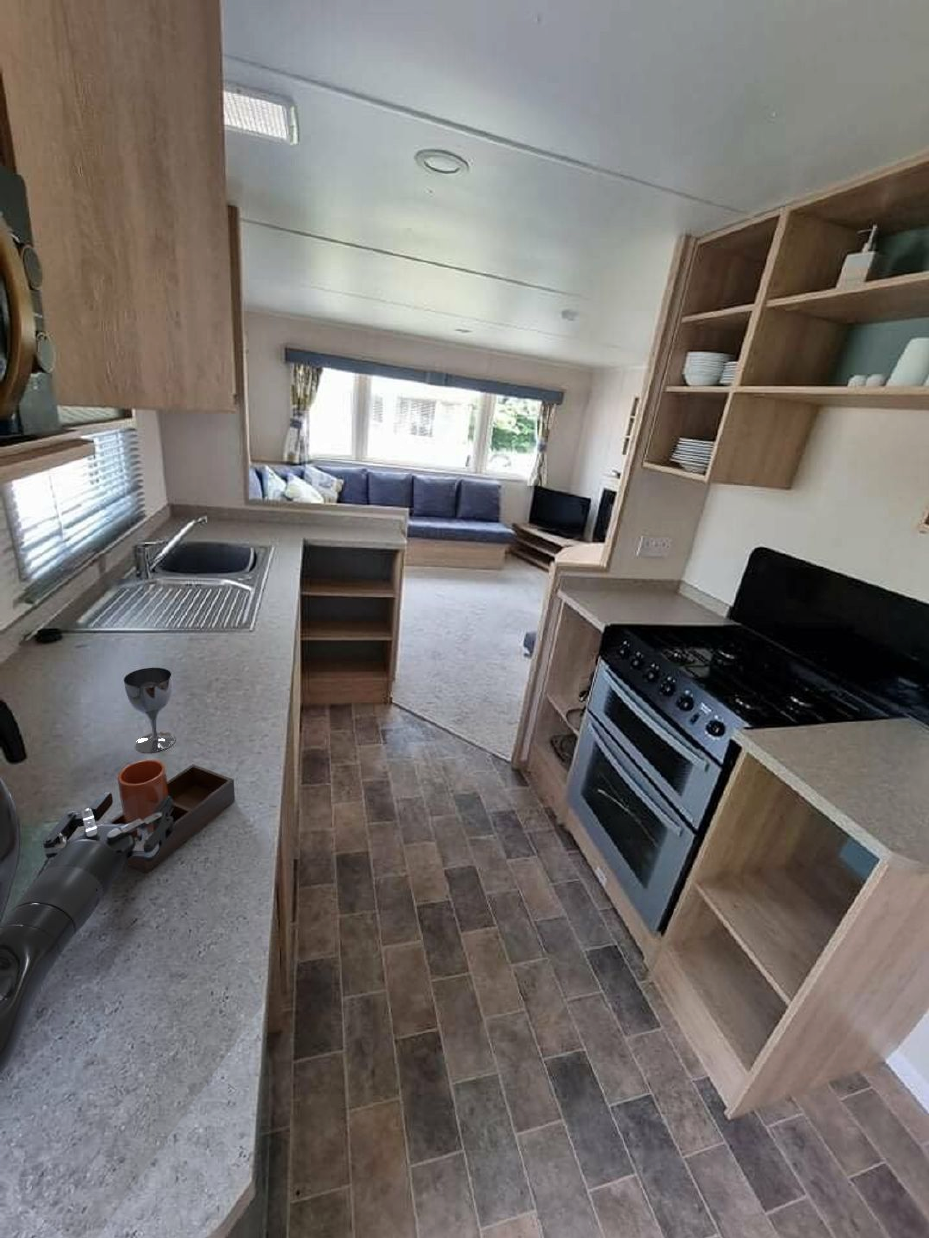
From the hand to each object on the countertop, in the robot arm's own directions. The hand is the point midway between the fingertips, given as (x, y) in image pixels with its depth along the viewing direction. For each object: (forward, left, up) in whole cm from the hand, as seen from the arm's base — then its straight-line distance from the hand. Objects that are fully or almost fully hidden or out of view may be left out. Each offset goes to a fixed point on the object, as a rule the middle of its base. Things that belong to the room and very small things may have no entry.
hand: (139, 798), depth 77 cm
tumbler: (0, +1, -9) cm, 9 cm away
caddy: (0, +5, -10) cm, 11 cm away
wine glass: (-21, +20, -10) cm, 31 cm away
